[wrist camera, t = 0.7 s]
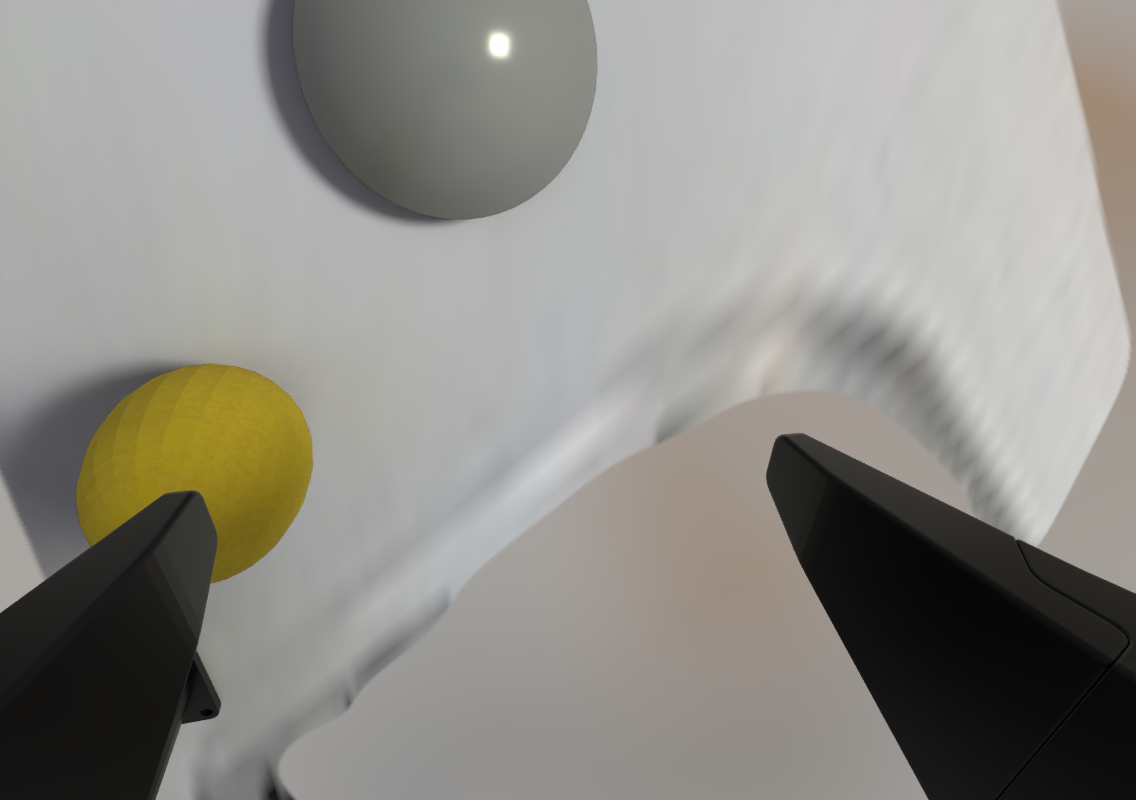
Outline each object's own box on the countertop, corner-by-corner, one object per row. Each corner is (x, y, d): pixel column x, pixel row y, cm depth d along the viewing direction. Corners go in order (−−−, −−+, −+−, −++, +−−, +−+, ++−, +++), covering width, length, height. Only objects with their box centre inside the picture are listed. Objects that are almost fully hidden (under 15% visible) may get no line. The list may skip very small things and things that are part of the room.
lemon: (263, 486, 23) (198, 675, 16) (112, 402, 20) (-43, 588, 13) (361, 392, 22) (336, 552, 15) (216, 289, 19) (104, 429, 12)
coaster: (584, 206, 20) (592, 214, 19) (330, 216, 18) (326, 225, 17) (593, -107, 16) (603, -115, 15) (265, -127, 14) (256, -137, 13)
